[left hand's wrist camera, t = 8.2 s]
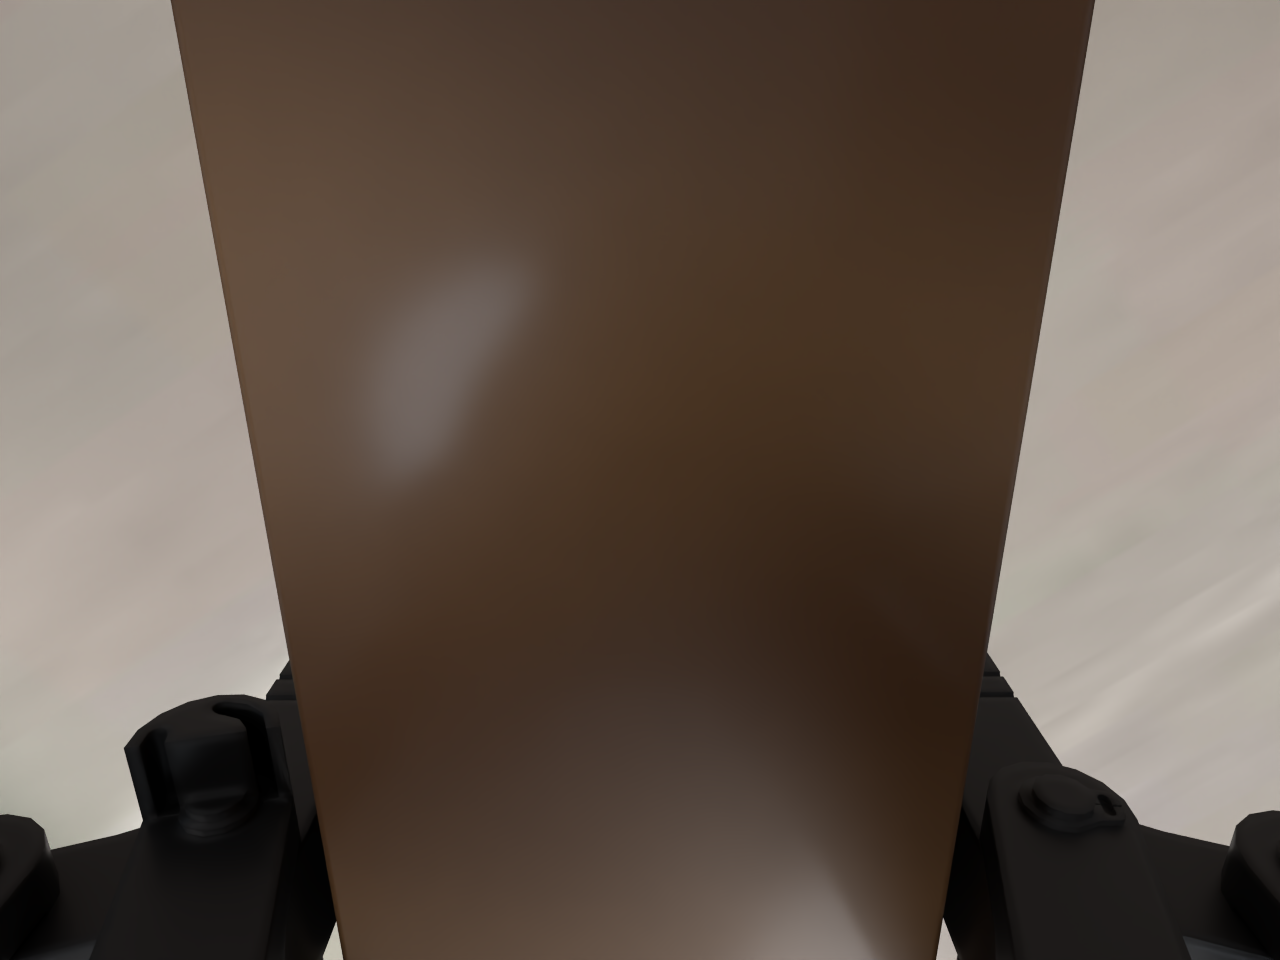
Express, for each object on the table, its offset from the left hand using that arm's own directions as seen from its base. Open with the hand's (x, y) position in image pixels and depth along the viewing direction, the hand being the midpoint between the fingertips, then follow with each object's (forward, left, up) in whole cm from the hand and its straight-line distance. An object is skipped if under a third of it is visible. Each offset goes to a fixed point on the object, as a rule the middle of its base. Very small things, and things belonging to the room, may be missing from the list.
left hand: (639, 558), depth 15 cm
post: (-12, -21, -1) cm, 25 cm away
